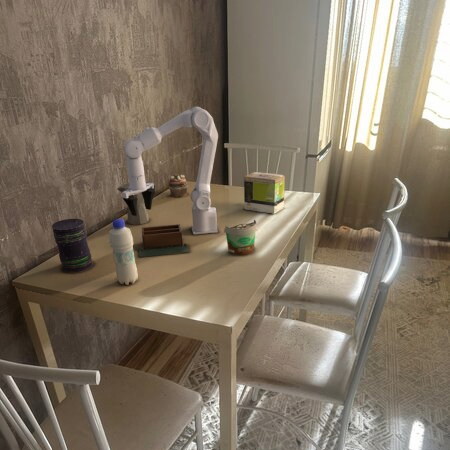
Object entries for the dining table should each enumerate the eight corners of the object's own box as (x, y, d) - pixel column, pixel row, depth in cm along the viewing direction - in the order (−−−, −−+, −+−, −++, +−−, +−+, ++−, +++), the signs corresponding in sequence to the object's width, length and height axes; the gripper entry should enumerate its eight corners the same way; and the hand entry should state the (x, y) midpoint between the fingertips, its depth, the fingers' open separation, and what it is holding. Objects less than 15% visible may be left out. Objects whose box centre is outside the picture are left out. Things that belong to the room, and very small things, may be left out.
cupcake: (167, 197, 202) (165, 176, 197) (172, 191, 210) (170, 171, 205) (186, 197, 201) (184, 177, 196) (190, 192, 209) (189, 172, 204)
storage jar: (76, 275, 132) (65, 231, 125) (56, 269, 137) (44, 226, 129) (99, 263, 139) (90, 221, 132) (79, 257, 144) (69, 216, 136)
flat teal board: (188, 252, 145) (188, 249, 145) (139, 257, 143) (139, 254, 142) (187, 245, 151) (186, 242, 150) (139, 249, 148) (139, 247, 148)
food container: (233, 259, 139) (232, 231, 134) (224, 253, 144) (223, 226, 138) (264, 252, 144) (264, 224, 138) (255, 245, 148) (255, 219, 143)
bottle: (118, 277, 130) (107, 216, 120) (140, 275, 131) (131, 215, 121) (115, 287, 125) (103, 224, 114) (138, 285, 125) (128, 223, 115)
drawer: (181, 232, 147) (179, 221, 157) (141, 235, 145) (141, 224, 155) (182, 245, 150) (180, 233, 159) (143, 248, 148) (143, 237, 157)
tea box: (284, 208, 183) (285, 174, 176) (274, 214, 176) (275, 179, 168) (254, 203, 190) (254, 170, 183) (243, 209, 183) (243, 175, 176)
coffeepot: (125, 227, 169) (117, 183, 160) (120, 220, 176) (113, 177, 167) (161, 221, 174) (156, 177, 164) (155, 214, 181) (150, 172, 172)
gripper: (142, 169, 154) (146, 205, 161) (113, 178, 143) (119, 216, 150) (156, 171, 150) (160, 207, 157) (128, 181, 140) (134, 219, 147)
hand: (141, 212), depth 153 cm, fingers open, 7 cm apart
